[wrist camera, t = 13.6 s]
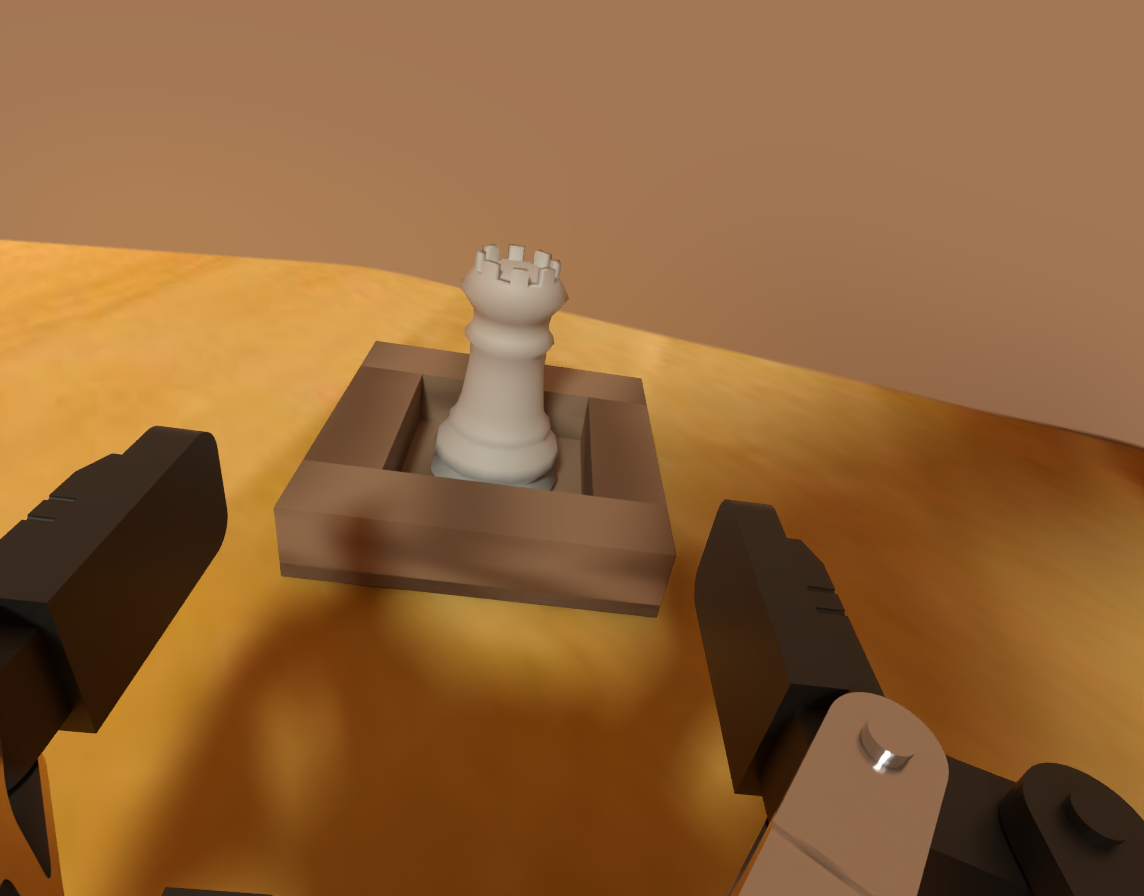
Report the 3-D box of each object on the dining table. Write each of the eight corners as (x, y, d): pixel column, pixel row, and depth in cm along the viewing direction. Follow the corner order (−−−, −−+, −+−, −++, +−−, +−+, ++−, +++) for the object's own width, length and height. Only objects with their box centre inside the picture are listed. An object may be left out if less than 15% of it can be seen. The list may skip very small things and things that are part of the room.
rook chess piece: (414, 504, 22) (422, 266, 18) (447, 435, 26) (460, 225, 21) (548, 528, 22) (588, 296, 18) (561, 455, 26) (597, 250, 21)
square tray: (629, 428, 29) (641, 378, 28) (656, 617, 20) (676, 555, 19) (376, 394, 28) (376, 341, 27) (281, 576, 19) (274, 507, 18)
